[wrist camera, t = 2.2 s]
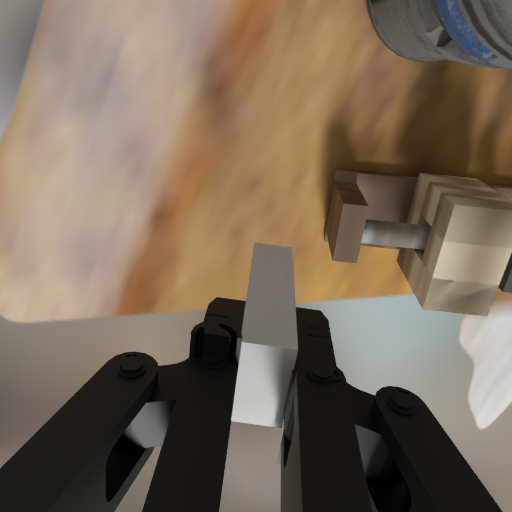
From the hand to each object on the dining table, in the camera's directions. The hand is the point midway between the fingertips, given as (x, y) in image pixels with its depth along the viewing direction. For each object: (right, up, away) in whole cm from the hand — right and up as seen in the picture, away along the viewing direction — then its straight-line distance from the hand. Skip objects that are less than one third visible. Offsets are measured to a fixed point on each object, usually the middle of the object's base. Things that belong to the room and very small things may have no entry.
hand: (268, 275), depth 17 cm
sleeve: (+16, +4, +22) cm, 27 cm away
